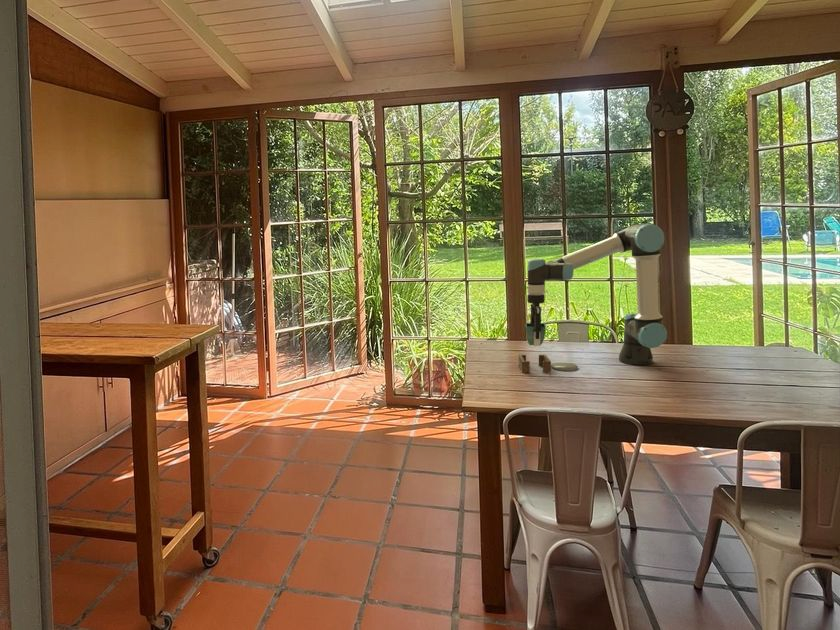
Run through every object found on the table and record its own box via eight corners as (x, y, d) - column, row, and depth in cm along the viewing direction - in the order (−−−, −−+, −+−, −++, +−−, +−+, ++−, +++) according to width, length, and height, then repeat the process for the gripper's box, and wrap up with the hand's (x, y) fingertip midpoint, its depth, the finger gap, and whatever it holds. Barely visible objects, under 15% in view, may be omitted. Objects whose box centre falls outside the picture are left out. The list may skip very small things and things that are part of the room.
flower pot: (545, 346, 235) (545, 326, 234) (525, 346, 237) (525, 326, 236) (544, 342, 244) (545, 323, 242) (525, 342, 246) (525, 322, 244)
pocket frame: (545, 365, 248) (545, 354, 247) (550, 372, 236) (550, 361, 235) (518, 365, 249) (518, 354, 248) (521, 372, 237) (522, 361, 236)
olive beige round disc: (574, 364, 249) (574, 362, 249) (580, 371, 237) (580, 369, 237) (548, 364, 250) (548, 362, 250) (553, 371, 238) (553, 369, 238)
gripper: (524, 290, 247) (523, 338, 251) (531, 297, 226) (530, 349, 230) (540, 290, 247) (539, 338, 251) (548, 297, 226) (547, 348, 230)
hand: (535, 343), depth 240 cm, fingers closed on flower pot, 9 cm apart
